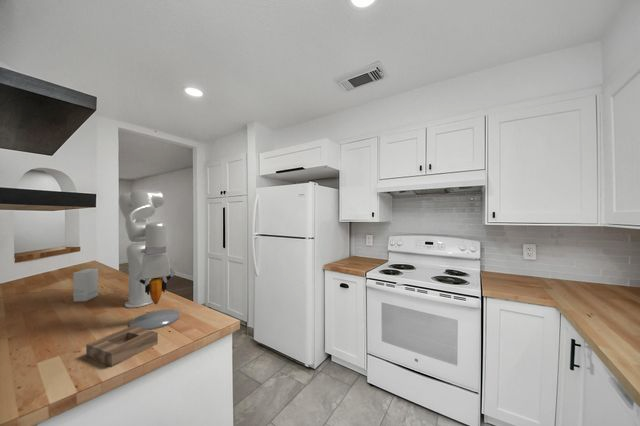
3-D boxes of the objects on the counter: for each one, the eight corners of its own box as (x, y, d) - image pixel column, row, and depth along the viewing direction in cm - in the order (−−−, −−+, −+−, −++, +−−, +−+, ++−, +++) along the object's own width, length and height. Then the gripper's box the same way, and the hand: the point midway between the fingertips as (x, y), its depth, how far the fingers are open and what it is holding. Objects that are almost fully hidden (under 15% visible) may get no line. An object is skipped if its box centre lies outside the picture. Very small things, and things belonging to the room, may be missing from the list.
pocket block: (86, 356, 78) (86, 344, 78) (133, 335, 91) (133, 325, 91) (111, 366, 73) (111, 353, 73) (157, 343, 86) (157, 332, 86)
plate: (119, 325, 99) (119, 323, 99) (162, 309, 116) (162, 307, 116) (148, 334, 93) (148, 331, 93) (188, 315, 109) (188, 313, 109)
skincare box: (86, 296, 134) (86, 268, 134) (99, 295, 134) (99, 268, 134) (72, 301, 125) (72, 272, 125) (86, 301, 126) (86, 272, 126)
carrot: (147, 304, 104) (147, 270, 104) (161, 301, 108) (160, 268, 108) (150, 307, 101) (150, 272, 101) (164, 304, 104) (164, 270, 104)
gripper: (130, 254, 96) (131, 299, 96) (179, 250, 107) (179, 290, 107) (131, 252, 102) (131, 294, 102) (177, 248, 112) (177, 286, 112)
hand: (155, 292), depth 104 cm, fingers closed on carrot, 4 cm apart
